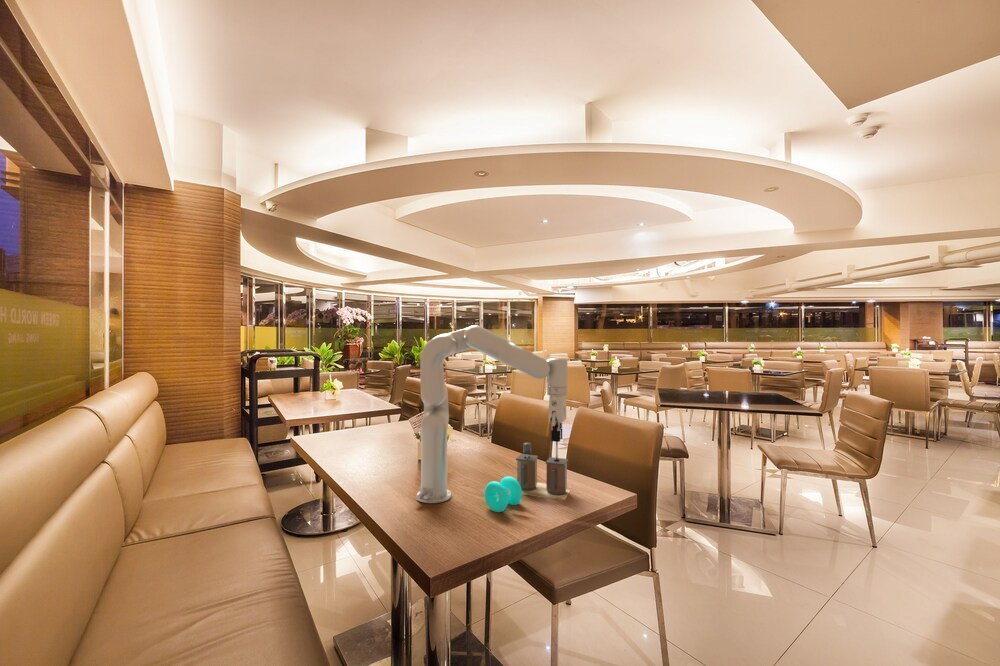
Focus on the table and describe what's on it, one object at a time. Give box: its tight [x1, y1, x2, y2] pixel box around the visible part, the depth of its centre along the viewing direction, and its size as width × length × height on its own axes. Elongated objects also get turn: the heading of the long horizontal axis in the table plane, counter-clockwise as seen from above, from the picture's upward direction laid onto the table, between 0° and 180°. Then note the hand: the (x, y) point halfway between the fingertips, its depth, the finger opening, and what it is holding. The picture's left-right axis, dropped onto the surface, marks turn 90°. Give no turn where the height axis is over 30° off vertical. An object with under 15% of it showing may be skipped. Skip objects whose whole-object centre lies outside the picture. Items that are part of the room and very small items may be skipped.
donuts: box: [484, 476, 523, 513], centre depth 142 cm, size 10×10×10 cm
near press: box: [545, 456, 568, 495], centre depth 153 cm, size 9×7×12 cm
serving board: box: [522, 481, 572, 501], centre depth 156 cm, size 14×20×1 cm
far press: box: [515, 442, 539, 491], centre depth 157 cm, size 9×7×17 cm
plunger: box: [555, 428, 562, 462], centre depth 155 cm, size 5×5×16 cm
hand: (556, 439), depth 155 cm, fingers closed on plunger, 3 cm apart
